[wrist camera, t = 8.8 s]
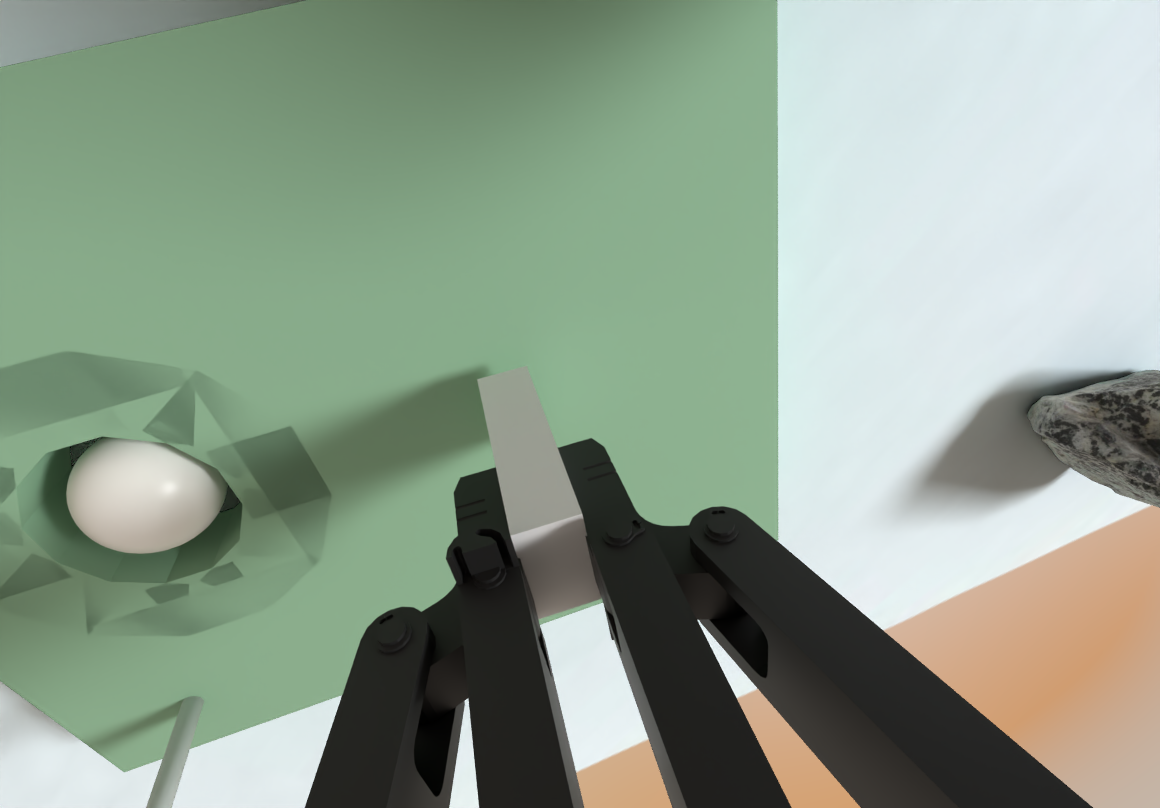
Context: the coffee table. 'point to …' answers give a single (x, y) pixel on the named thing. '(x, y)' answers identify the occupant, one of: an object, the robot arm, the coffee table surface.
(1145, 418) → the stone
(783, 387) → the coffee table surface
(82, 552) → the green
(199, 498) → the ball
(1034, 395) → the coffee table surface
